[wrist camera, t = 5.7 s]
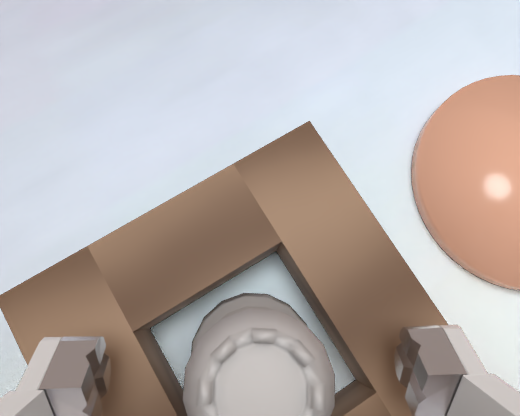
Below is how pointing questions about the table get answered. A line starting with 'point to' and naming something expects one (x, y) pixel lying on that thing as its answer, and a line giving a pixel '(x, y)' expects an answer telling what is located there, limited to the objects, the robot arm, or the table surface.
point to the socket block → (228, 266)
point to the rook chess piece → (257, 363)
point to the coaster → (474, 178)
